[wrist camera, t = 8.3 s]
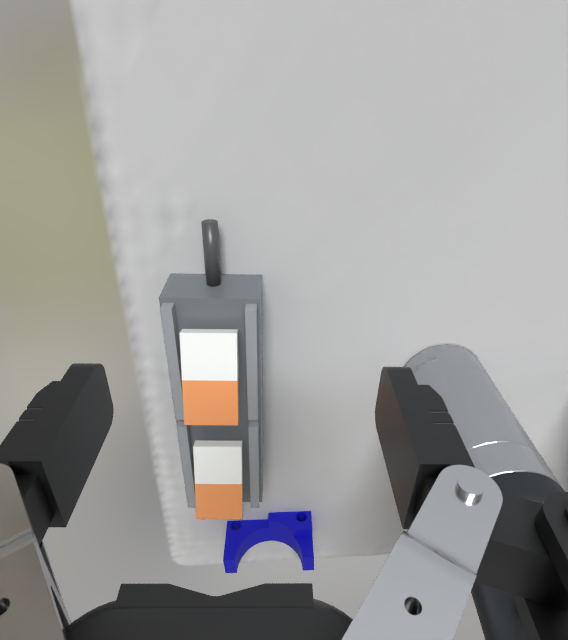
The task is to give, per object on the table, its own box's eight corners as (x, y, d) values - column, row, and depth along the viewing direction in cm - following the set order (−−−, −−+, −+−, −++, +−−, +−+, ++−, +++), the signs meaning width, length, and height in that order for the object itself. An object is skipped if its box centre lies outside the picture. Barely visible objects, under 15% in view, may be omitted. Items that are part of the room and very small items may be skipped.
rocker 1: (182, 328, 40) (179, 332, 39) (237, 329, 40) (236, 333, 39) (186, 418, 43) (184, 425, 42) (239, 419, 43) (238, 425, 42)
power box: (163, 214, 41) (146, 238, 36) (261, 215, 41) (259, 240, 36) (194, 468, 58) (185, 510, 53) (263, 468, 59) (261, 510, 53)
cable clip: (310, 509, 64) (313, 550, 58) (311, 529, 66) (313, 569, 61) (226, 513, 64) (222, 553, 59) (229, 532, 66) (225, 573, 61)
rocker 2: (195, 440, 47) (193, 446, 46) (242, 440, 48) (241, 446, 46) (198, 511, 50) (196, 519, 49) (243, 511, 50) (242, 519, 49)
